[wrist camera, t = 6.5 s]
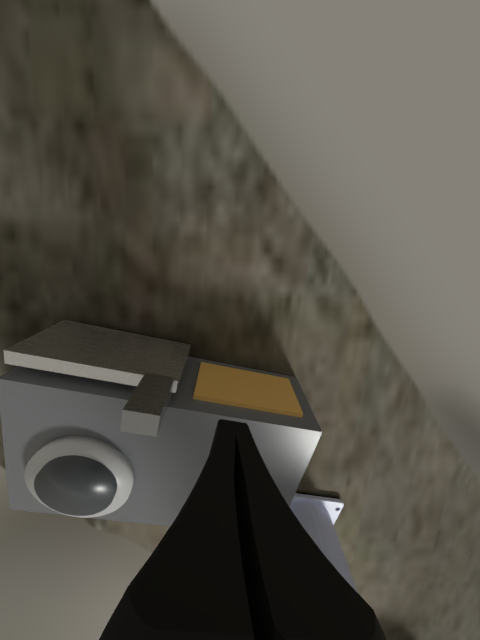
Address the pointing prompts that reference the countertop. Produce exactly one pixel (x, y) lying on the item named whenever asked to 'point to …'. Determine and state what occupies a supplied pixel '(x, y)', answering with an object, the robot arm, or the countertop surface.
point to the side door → (110, 365)
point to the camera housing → (142, 439)
